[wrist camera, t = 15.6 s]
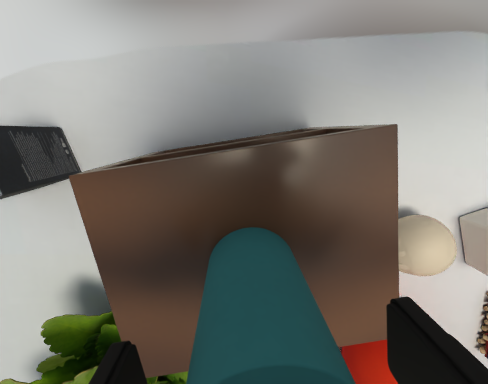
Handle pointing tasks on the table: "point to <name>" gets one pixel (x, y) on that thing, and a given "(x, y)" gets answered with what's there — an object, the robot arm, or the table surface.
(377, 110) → the table surface
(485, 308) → the woven mat
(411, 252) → the cream round ball
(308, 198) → the rack
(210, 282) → the teal cylinder
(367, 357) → the tomato
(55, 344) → the potted flower
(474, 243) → the medicine bottle
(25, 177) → the box
